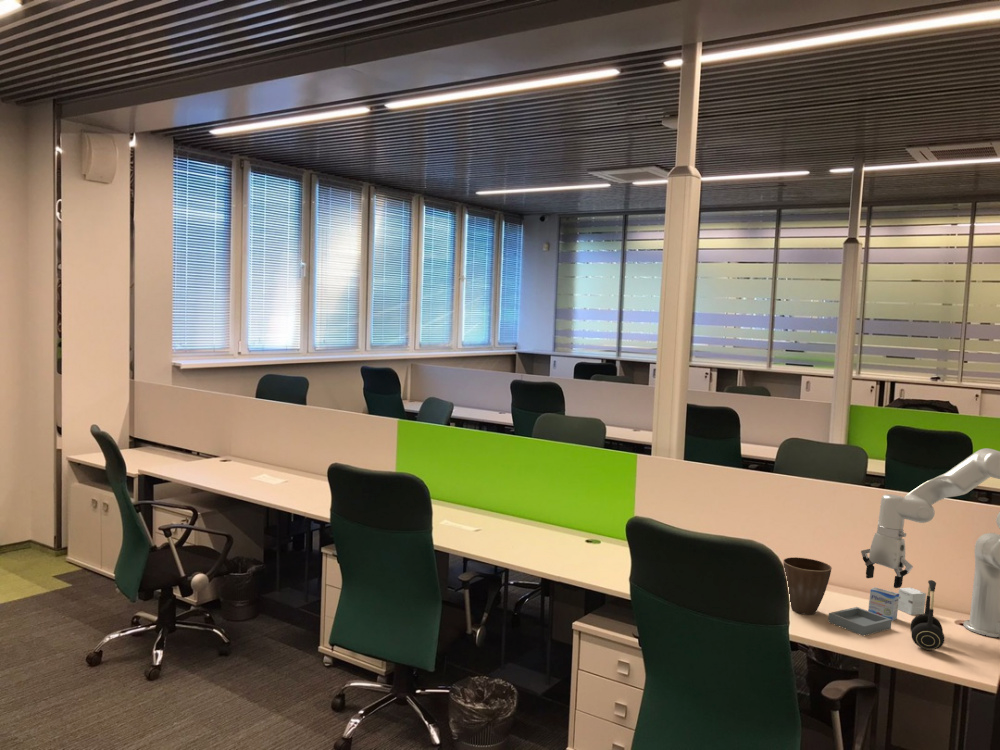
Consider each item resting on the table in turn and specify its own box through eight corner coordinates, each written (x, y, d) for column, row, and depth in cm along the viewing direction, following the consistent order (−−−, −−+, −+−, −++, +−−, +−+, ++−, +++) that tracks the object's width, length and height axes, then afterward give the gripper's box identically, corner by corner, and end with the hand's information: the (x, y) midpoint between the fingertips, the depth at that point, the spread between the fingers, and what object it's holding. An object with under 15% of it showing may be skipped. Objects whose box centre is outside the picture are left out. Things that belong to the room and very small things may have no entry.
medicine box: (867, 614, 255) (869, 588, 255) (872, 611, 258) (874, 586, 258) (892, 621, 249) (895, 595, 249) (897, 618, 253) (899, 593, 252)
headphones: (940, 641, 234) (946, 577, 233) (944, 658, 221) (951, 590, 220) (908, 635, 238) (914, 572, 237) (910, 651, 225) (917, 584, 224)
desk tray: (890, 628, 242) (891, 619, 242) (863, 635, 234) (863, 626, 234) (855, 615, 253) (856, 606, 252) (828, 622, 245) (829, 612, 244)
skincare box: (896, 608, 263) (898, 588, 262) (909, 607, 265) (911, 587, 264) (911, 615, 257) (913, 594, 257) (924, 614, 259) (926, 593, 259)
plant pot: (802, 621, 244) (806, 572, 243) (769, 604, 258) (773, 558, 257) (837, 617, 250) (841, 569, 249) (803, 601, 263) (807, 556, 263)
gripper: (921, 538, 247) (914, 590, 248) (871, 524, 262) (865, 573, 263) (909, 540, 243) (902, 592, 244) (858, 525, 258) (852, 575, 259)
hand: (883, 582), depth 253 cm, fingers open, 9 cm apart
